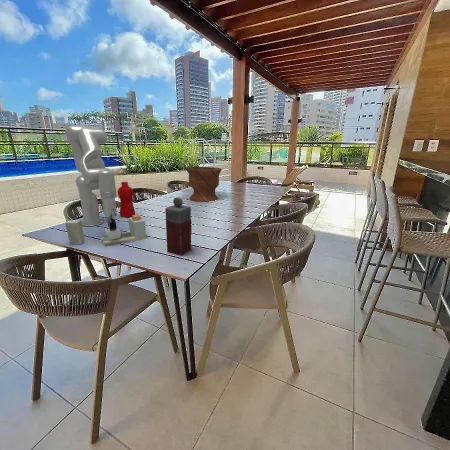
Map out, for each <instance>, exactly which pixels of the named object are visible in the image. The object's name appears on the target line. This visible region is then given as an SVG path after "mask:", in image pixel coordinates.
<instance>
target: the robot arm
mask: <svg viewBox="0 0 450 450" xmlns="http://www.w3.org/2000/svg"><path fill="white" fill-rule="evenodd" d="M65 136H66V139H67V142H68V143H69V145H70V147H71V149H72V153H73V158H74V159H73V160H74V164H75V169H76V171H77V172H78V173H81V175H78V176H77V177H76V178H75V183H76V188H77V190H78V194H79V199H80V204H81V211H82V217H83V219H82V220H83V221H81V223H82V227H97V226H100V225H102V224H103V223H104V220H102V219H101V217H100V209H99V202H98V201H99V200H98V196H97V194H95V193H94V192H93V191H95V190H96V191H97V190H99V193H100V194H99V197H100V198H101V202H102V212H103V215H104V216H105V217H106V219H107V221H106V222H108V217H109V220H110V222H109V225H110V229H116V227H117V221H116V217H117V216H118V211H117V203H116V199H115V198H117V197H118V195H117V189H116V180H115V173H114V171H113V170H111V169H110V168H106V166H105V162H104V159H103V158H102V157H100V156H101V155H102V150H101V148H100V147H101V146H100V145H105V144H107V141H108V136H107V132H105V129H103V128H102V127H97V126H89V125H77V124H76V125H68V126H67V127H66V128H65ZM107 228H109V226H108V225H107Z"/></svg>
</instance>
